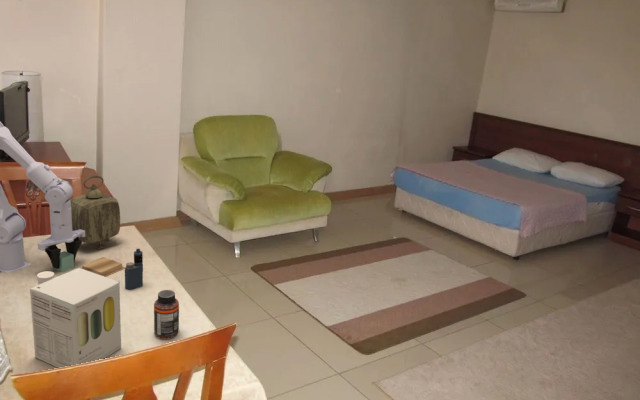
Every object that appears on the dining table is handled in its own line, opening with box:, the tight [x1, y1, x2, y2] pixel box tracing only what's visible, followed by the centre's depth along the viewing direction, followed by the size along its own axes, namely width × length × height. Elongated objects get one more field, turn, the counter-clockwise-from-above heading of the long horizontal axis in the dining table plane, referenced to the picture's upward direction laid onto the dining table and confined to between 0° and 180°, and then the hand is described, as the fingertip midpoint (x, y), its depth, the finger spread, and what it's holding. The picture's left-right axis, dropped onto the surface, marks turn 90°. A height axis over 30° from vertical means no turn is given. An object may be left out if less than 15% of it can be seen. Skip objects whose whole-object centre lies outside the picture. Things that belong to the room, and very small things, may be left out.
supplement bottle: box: [153, 289, 180, 340], centre depth 130 cm, size 6×6×11 cm
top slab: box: [81, 256, 123, 276], centre depth 161 cm, size 8×8×2 cm
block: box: [53, 250, 75, 273], centre depth 159 cm, size 4×4×5 cm
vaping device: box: [124, 248, 144, 291], centre depth 151 cm, size 3×5×12 cm, turn 137°
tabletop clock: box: [70, 175, 121, 250], centre depth 173 cm, size 14×9×25 cm, turn 144°
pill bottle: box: [34, 270, 55, 287], centre depth 137 cm, size 5×5×10 cm
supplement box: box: [29, 267, 122, 368], centre depth 119 cm, size 13×13×18 cm
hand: (63, 264), depth 159 cm, fingers open, 5 cm apart
